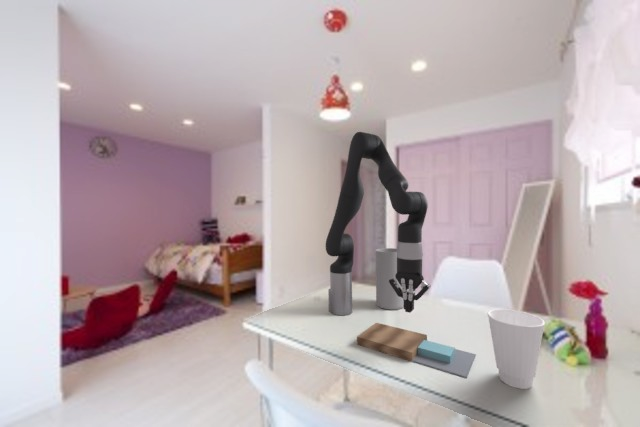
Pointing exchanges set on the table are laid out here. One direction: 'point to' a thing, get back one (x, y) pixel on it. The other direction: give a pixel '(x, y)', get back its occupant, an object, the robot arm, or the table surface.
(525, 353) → the cup
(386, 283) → the cylinder vase
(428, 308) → the table surface
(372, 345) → the block
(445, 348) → the tile
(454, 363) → the mat
